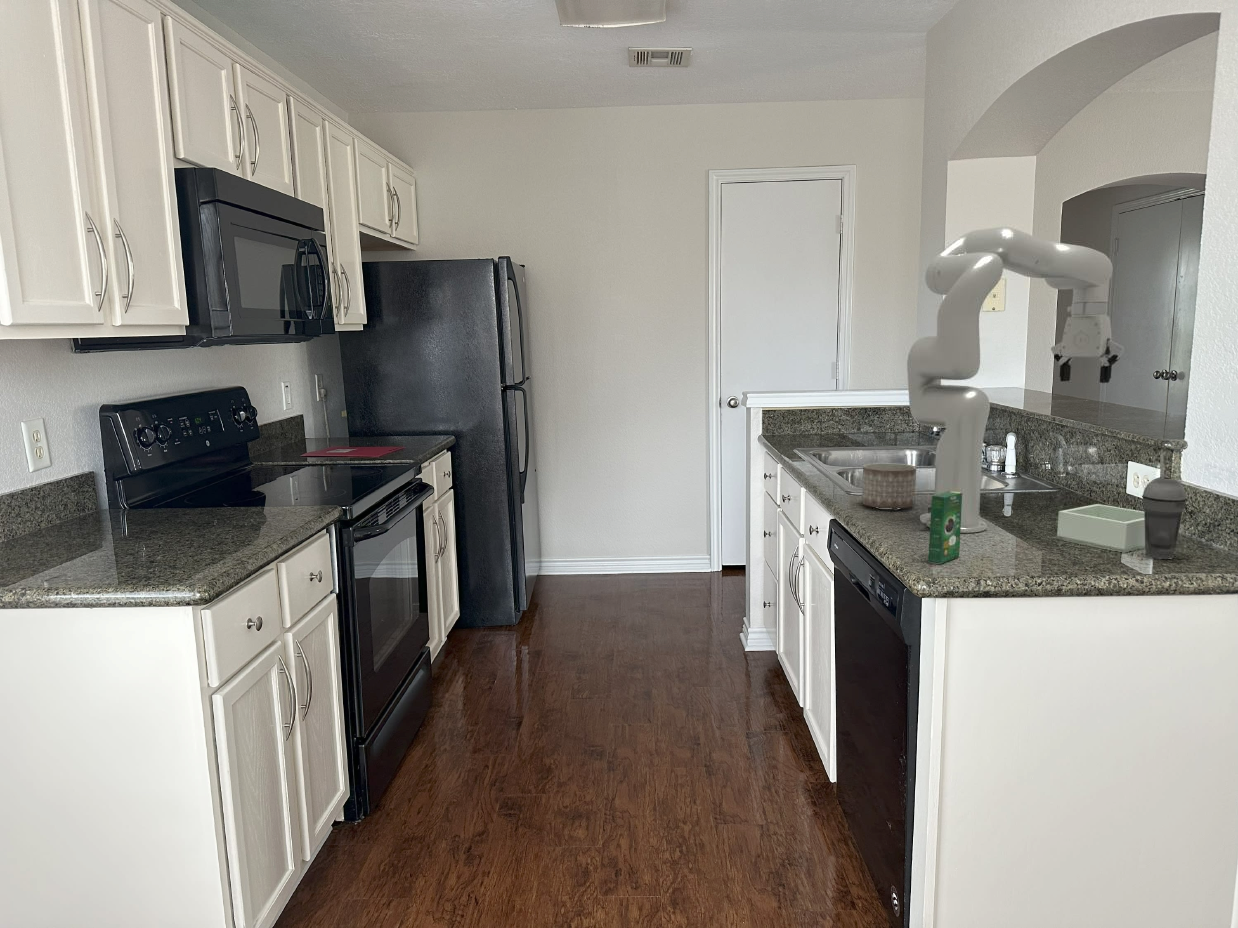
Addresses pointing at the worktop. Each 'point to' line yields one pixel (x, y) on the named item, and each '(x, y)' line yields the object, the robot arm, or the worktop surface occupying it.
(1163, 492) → the beverage cup
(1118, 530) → the walled box
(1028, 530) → the worktop surface
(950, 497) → the green upright box
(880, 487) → the planter
